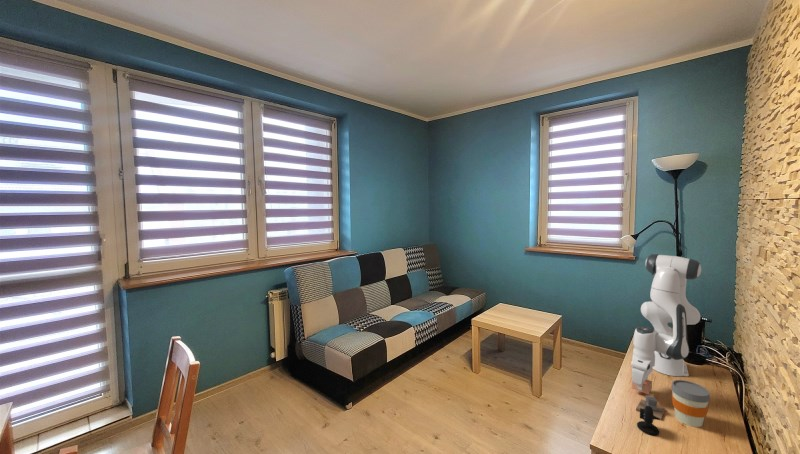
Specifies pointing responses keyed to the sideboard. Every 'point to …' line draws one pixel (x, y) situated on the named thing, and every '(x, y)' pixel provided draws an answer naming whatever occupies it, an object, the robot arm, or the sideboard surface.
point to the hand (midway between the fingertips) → (642, 385)
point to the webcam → (647, 421)
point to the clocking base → (656, 413)
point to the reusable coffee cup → (690, 402)
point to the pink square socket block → (646, 386)
